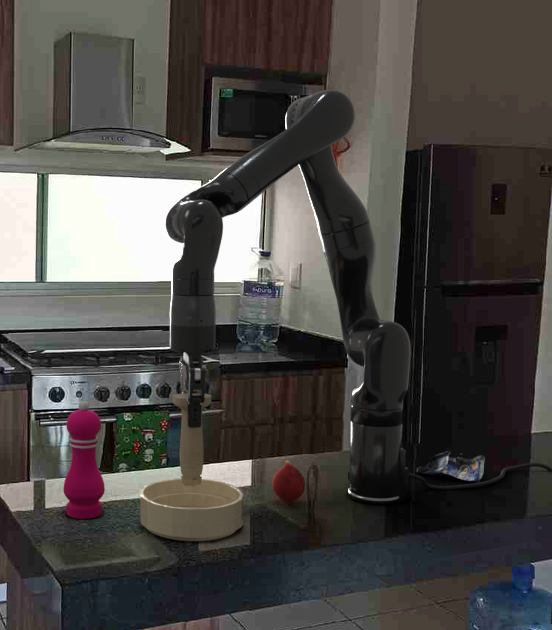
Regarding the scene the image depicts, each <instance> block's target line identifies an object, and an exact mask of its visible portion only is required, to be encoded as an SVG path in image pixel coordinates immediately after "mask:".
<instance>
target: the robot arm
mask: <svg viewBox="0 0 552 630" xmlns="http://www.w3.org/2000/svg"><path fill="white" fill-rule="evenodd" d="M355 119H356V110H355V107H354V104H353V102H352V100H351V98H349V96H348V95H347V94H346V93H344V92H342V91H340V90H336V89H325V90H320V91H318V92H315V93H311V94H309V95H306V96H303V97H299V98H297V99H296V100H294V101H293V102H291V103H290V105H289V107H288V108H287V111H286V113H285V129H284V130H283V131H282V132H280V133H278V134H277V135H275V136H274V137H273V138H271V139H269V140H268V141H266V142H264V143H263V144H261V145H259V146H258V147H255V148H254V149H252V150H250V151H248V152H247V153H245V154H244V155H242V156H241V157H239V158H237V160H235V161H234V162H233V163H231V164H230V165H229V166H227V167H226V168H225V169H224V170H223V171H221V172H220V173H218V175H216V176H215V177H214V178H213V179H212V180H210V181H209V182H207V183H206V184H203V185H202V186H200V187H198V188H196V189H195V190H193V191H191V192H189V193H188V194H185V196H183V197H182V198H180V199H178V200H176V202H175V203H173V205H172V206H171V207H170V208H169V209H168V211H167V213H166V215H165V218H164V230H165V232H166V234H167V235H168V237H169V238H170V239H171V240H173V241H174V242H177V243H179V244H183V247H182V253H181V257H180V258H179V259H177V260H176V261H174V262H173V264H172V268H171V299H170V307H169V349H170V350H171V351H172V352H175V353H183V357H180V359H179V365H178V366H179V371H180V373H179V374H180V375H179V378H180V379H179V383H180V391H181V394H185V393H187V400H186V402H187V405H188V411H187V425H188V427H190V428H199V427H201V407H202V405H203V403H204V401H205V398H204V397H205V394H206V393H205V392H206V374H207V364H206V362H204V360H203V354H204V353H211V352H214V351H215V349H216V329H217V328H216V325H217V324H216V321H217V319H216V318H217V317H216V316H217V314H216V313H217V312H216V311H217V310H216V308H217V307H216V300H215V268H216V264H217V261H218V258H219V253H220V249H221V244H222V239H223V234H224V221H223V219H224V218H226V217H228V216H232V215H236V214H237V213H239V212H241V211H242V210H243V209H245V208H246V207H247V206H249V205H250V204H251V203H252V202H253V201H255V200H256V199H257V198H259V196H261V195H263V193H264V192H265V191H267V190H268V189H269V188H270V187H271V186H273V185H274V184H275V183H277V182H279V180H281V179H282V178H283V177H284V176H285V175H287V174H288V173H289V172H290V171H292V170H293V169H295V168H296V167H299V168H300V172H301V175H302V178H303V181H304V184H305V187H306V191H307V195H308V198H309V201H310V205H311V208H312V212H313V215H314V219H315V223H316V229H317V232H318V236H319V240H320V245H321V248H322V251H323V254H324V257H325V259H326V260H325V261H326V264H327V268H328V272H329V276H330V280H331V284H332V288H333V291H334V295H335V298H336V305H337V309H338V315H339V316H338V317H339V321H340V322H339V323H340V329H341V336H342V341H343V345H344V346H343V347H344V349H345V353H346V354H347V356H348V358H349V359H350V360H351V361H352V362H353V363H354V364H356V365H357V366H360V367H362V368H363V377H362V383H361V384H360V386H358V387H354V389H352V391H351V394H350V422H349V423H350V425H349V426H350V427H349V432H350V433H349V467H348V468H349V469H348V472H347V481H348V489H347V490H348V491H347V493H348V497H349V498H351V499H353V500H354V501H357V502H361V503H365V504H371V505H372V504H373V505H390V504H395V503H398V502H405V499H406V498H405V495H406V493H405V491H406V487H407V486H409V482H410V481H409V479H410V478H411V479H415V480H418V481H419V482H421V483H422V484H423V486H424V487H425V488H427V489H431V490H448V491H449V490H450V491H452V490H453V491H454V490H464V489H471V488H480V487H484V486H489V485H492V484H495V483H497V482H499V481H501V480H503V479H504V477H505V475H506V473H507V472H510V471H515V470H519V469H525V468H532V467H538V468H543V469H544V470H547V471H548V473H549V472H550V473H552V467H551V466H549V465H548V464H544V463H541V462H528V463H522V464H518V465H512V466H508V467H504V468H502V470H500V474H499V475H498V476H496V477H493V478H492V479H487V480H485V481H479V483H478V482H474V483H473V482H472V483H466V484H465V483H464V484H457V485H446V486H445V485H434V484H431V483H428V482H427V480H426V479H425V478H424V477H423V476H420V475H419V474H415V473H410V469H409V468H408V467H407V466H406V461H407V457H406V456H407V451H406V449H404V448H403V447H402V446H403V415H404V414H403V411H404V398H405V396H406V394H407V392H408V389H409V381H410V380H409V379H410V367H411V341H410V336H409V333H408V332H407V330H406V328H404V327H403V325H402V324H400V323H398V322H395V321H390V320H385V319H381V317H380V315H379V312H378V309H377V305H376V302H375V298H374V293H373V284H372V283H373V275H374V269H375V264H376V263H375V262H376V258H377V257H376V255H377V245H376V240H375V234H374V231H373V227H372V224H371V219H370V216H369V213H368V210H367V208H366V206H365V204H364V203H363V202H362V200H361V198H359V196H358V195H357V194H356V192H355V191H354V190H353V188H352V187H351V186H350V184H349V183H348V182H347V181H346V179H345V178H344V176H343V175H342V173H341V172H340V170H339V167H338V165H337V162H336V159H335V155H334V151H333V149H332V145H334V144H336V143H339V142H340V141H342V140H343V139H345V138H346V137H347V136H348V135H349V133H350V132H351V131H352V129H353V127H354V124H355ZM192 393H199V395H193V396H192ZM550 606H551V607H550V608H551V610H550V624H552V605H550Z"/></svg>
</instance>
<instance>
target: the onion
mask: <svg viewBox="0 0 552 630" xmlns="http://www.w3.org/2000/svg"><path fill="white" fill-rule="evenodd" d="M271 486H272V490H273V492H274V494H275V495H276V496H277V497H278V498H279V499H280V500H281V501H282V502H283V503H284V504H285V505H291V504H292V503H294V502H296V501H297V500H299V499H300V498H301V497H302V496H303V494H304V492H305V489H306V481H305V478H304V475H303V474H302V472H301V471H300V470H299V469H298V468H297V467H295V466H294V465H293V464H292V463H291V462H290V461H289V460H285V462H284V465H283V466H282V467H280V468H278V470H277V471H276V473H275V474H274V475H273V477H272V481H271Z"/></svg>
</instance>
